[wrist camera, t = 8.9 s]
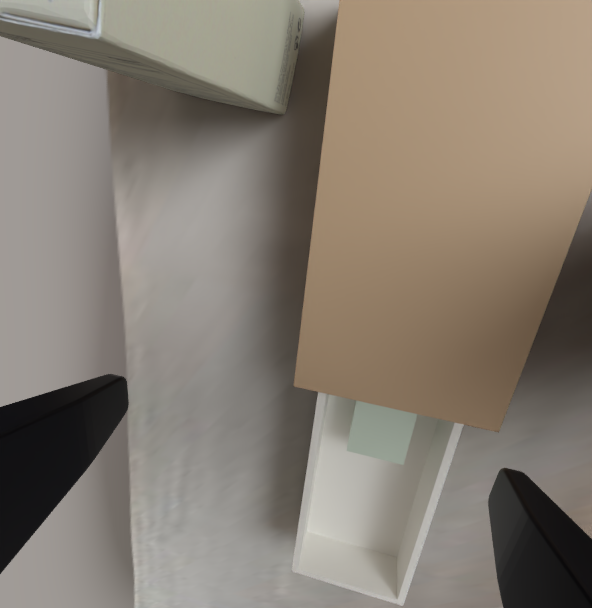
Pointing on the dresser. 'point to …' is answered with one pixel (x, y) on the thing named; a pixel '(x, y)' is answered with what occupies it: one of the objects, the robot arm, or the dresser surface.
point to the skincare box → (173, 43)
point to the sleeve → (444, 199)
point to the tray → (369, 504)
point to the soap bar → (380, 432)
